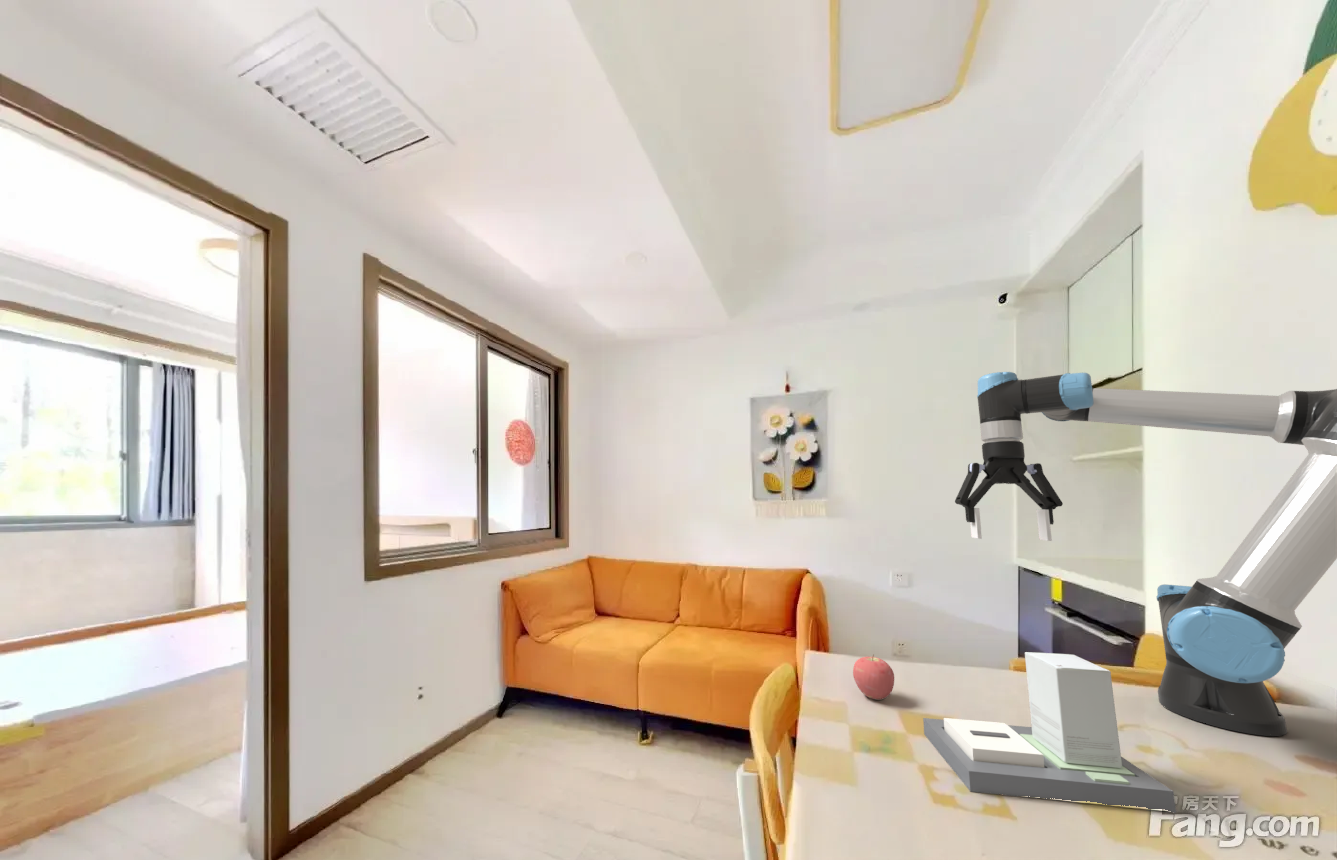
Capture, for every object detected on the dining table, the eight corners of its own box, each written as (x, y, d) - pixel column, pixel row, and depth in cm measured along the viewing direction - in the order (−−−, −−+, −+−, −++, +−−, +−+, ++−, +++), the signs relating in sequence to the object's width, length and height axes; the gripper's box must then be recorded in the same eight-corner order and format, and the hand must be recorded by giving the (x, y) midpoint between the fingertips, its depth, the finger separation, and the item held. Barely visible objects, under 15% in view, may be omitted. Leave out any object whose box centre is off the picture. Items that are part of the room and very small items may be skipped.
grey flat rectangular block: (1085, 748, 72) (1082, 720, 72) (1176, 813, 57) (1171, 776, 58) (924, 734, 75) (922, 707, 76) (970, 791, 60) (967, 757, 61)
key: (1085, 753, 69) (1084, 739, 69) (1136, 791, 60) (1134, 774, 61) (1020, 747, 70) (1019, 733, 71) (1061, 783, 62) (1060, 767, 62)
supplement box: (1125, 770, 62) (1113, 671, 63) (1064, 764, 63) (1054, 667, 65) (1084, 741, 69) (1074, 653, 71) (1030, 736, 70) (1022, 650, 72)
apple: (864, 686, 94) (862, 645, 95) (901, 698, 89) (899, 655, 90) (847, 696, 89) (845, 653, 90) (885, 709, 84) (883, 664, 85)
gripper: (1052, 444, 103) (1062, 539, 100) (934, 443, 106) (940, 535, 103) (1076, 439, 95) (1088, 542, 92) (949, 439, 99) (956, 538, 96)
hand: (1010, 539), depth 98 cm, fingers open, 13 cm apart
